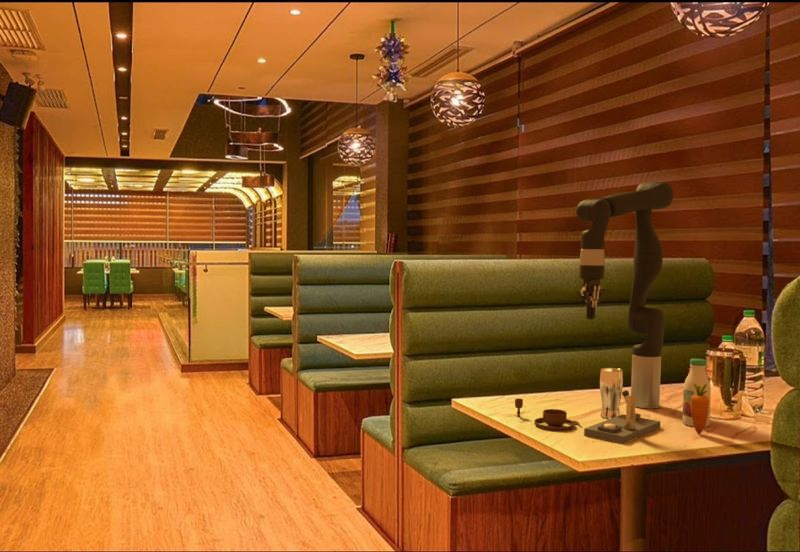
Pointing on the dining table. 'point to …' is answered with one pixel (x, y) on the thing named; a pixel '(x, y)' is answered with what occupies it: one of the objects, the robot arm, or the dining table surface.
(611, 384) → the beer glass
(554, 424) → the place setting
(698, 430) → the carrot
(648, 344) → the robot arm
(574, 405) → the dining table surface
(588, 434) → the switch panel
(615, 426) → the push button
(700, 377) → the milk bottle
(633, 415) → the block
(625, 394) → the toggle lever
